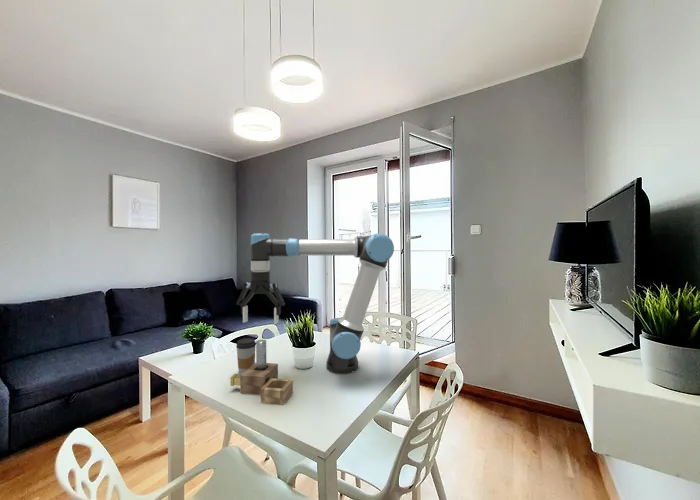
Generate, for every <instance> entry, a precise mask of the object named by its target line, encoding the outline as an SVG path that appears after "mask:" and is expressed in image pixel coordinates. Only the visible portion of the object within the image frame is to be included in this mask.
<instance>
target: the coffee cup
mask: <svg viewBox="0 0 700 500" xmlns="http://www.w3.org/2000/svg"><path fill="white" fill-rule="evenodd" d="M236 354H237V357H236V359H237V368H238V375H241V374H243V373H244V372H245V371H246V370H247V369H249V368H250V367H251V366H252V365H253V364H255V363H256V362H255V361H256V340H255V338H251V337H250V338H249V337H247V338H242V339H239V340H237V343H236Z"/></svg>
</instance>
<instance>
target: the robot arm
mask: <svg viewBox="0 0 700 500" xmlns="http://www.w3.org/2000/svg"><path fill="white" fill-rule="evenodd" d="M394 245H395V244H394V243H393V240H392V239H391V238H390V237H389V236H388V235H386V234H383V233H374V234H369V235H367V236H359V237H357V236H356V237H354V238H353V239H352V238H350V239H348V238H347V239H343V238H342V239H341V238H340V239H338V238H337V239H335V238H334V239H332V238H331V239H327V238H326V239H320V238H319V239H316V238H315V239H308V238H307V239H303V238H302V239H301V238H300V239H299V238H292V237H291V238H290V237H289V238H286V237H285V238H272V237H270V234H269V233H252V234H251V236H250V282H244V283H243V287H242V290H241V291H240V293H239V295H238V299H237V300H236V303H235V304H236V305H237V306H240V314H241V315H242V324H244V323H247V322H248V321H249V313H248V312H249V309H248V308H249V307H248V305H247V304H248V303H249V302H250V301H251V299H252V298H253V297H254V295H258V294H259V295H266V296H267V297H268V299H269V300H270V301H271V303H272V304H273V305H274V306H275V307H274V308H273V324H274V325H277V324H279V322H280V320H279V318H280V315H281V313H282V311H281V307H284V306H285V305H286V302H285V301H284V298H283V296H282V293H281V292H280V290H279V286H278V282H272V283H271V281H270V280H271V272H270V270H271V261H270V260H271V259H270V257H278V258H279V257H281V258H282V257H284V258H285V257H289V258H292V257H298V256H302V257H303V256H307V257H308V256H319V257H320V256H323V257H324V256H353V257H355V258H357V259H358V258H359V259H358V260H359V263H360V268H359V271H358V274H357V277H356V279H355V282H354V285H353V287H352V290H351V293H350V296H349V299H348V302H347V305H346V307H345V311H344V313H343V316H342V317H335V318H331V319H330V321H329V354H328V357H327V359H326V364H325V365H326V367H325V368H326V370H327V371H329V372H330V373H333V374H343V375H344V374H350V373H354V372H356V371H358V370H359V369H358V368H359V360H358V357H357V355H358V354H359V352H360V350H361V344H362V343H361V342H362V341H361V339H362V336H363V333H364V329H365V328H364V326H363V322H364V321H365V320H364V319H365V317H366V314H367V311H368V308H369V305H370V302H371V299H372V297H373V294H374V290H375V287H376V285H377V282H378V278H379V276H380V273H381V272H382V271H384V270H385V269H386V268H387V264H388V261H389V260H390V259H391V258H392V256H393V254H394V251H395V246H394ZM249 288H251V290H250V292H249V293H248V290H249ZM270 288H271V289H272V290H273V293H274V294H273V293H272V291H271V289H270ZM247 293H248V294H247Z"/></svg>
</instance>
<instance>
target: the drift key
mask: <svg viewBox="0 0 700 500" xmlns="http://www.w3.org/2000/svg"><path fill="white" fill-rule="evenodd" d="M229 378H230V379H229V380H230V381H229V382H230V387H234V386H236V387H237V386H239V387H240V375H239V373H234V374H233V375H231V376H230V377H229ZM265 384H266V380H265Z"/></svg>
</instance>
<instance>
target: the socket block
mask: <svg viewBox="0 0 700 500" xmlns="http://www.w3.org/2000/svg"><path fill="white" fill-rule="evenodd" d="M271 378H274V379H279V363H274V362H273V363H272V362H270V363H269V362H267V369H266V370H265V371H262V370H256V362H255V364H253V365H252V366H251V367H250V368H249V369H247V370H246V371H245V372H244V373H243V374H241V375H240V386H239V388H240V394H243V395H244V394H246V395H256V396H257V395H259V396H261V388H262V387H263V386H264V385H265V380H266V383H267V382H268V381H269V380H270V379H271Z"/></svg>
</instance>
